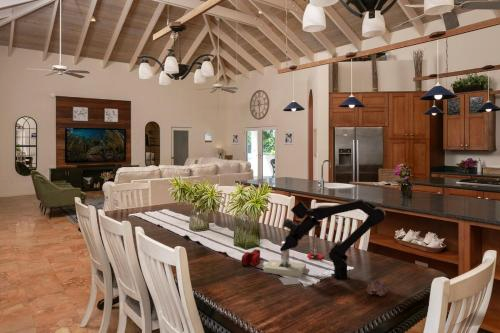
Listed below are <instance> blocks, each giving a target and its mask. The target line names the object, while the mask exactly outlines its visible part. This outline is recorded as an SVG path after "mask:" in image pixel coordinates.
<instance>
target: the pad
mask: <svg viewBox="0 0 500 333" xmlns="http://www.w3.org/2000/svg"><path fill="white" fill-rule="evenodd" d="M278 279H279V281H280V282H281V283H282V284H283V285H284V286H286V285H287V286H288V285H299V284H302V282H301V281H300V280H299V278H297V276H287V277H285V276H284V277H278ZM298 280H299V281H298Z"/></svg>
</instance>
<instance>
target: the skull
mask: <svg viewBox="0 0 500 333" xmlns="http://www.w3.org/2000/svg"><path fill="white" fill-rule="evenodd" d="M367 284H368V285H367V287H366V294H368V295H369V296H370V295H374V294H375V295H378V296H380V297H381V296H385V295H386V294H387V293H388V290H387V288H386V284H385V283H384V282H382V281H379V280H370V281H369V282H368V283H367Z"/></svg>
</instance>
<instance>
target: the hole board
mask: <svg viewBox="0 0 500 333" xmlns="http://www.w3.org/2000/svg"><path fill="white" fill-rule="evenodd" d="M306 269H307V263H305V262H297V261H296V262H295V261H289V268H287V267H281V260H278V259H272V258H271V259H269V260H268V262H267V263H265V265H264V266H263V273H267V274H276V275H283V276H289V277H298V276H299V277H300V278H301V277H302V276H303V275H304V272H305V271H306Z"/></svg>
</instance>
